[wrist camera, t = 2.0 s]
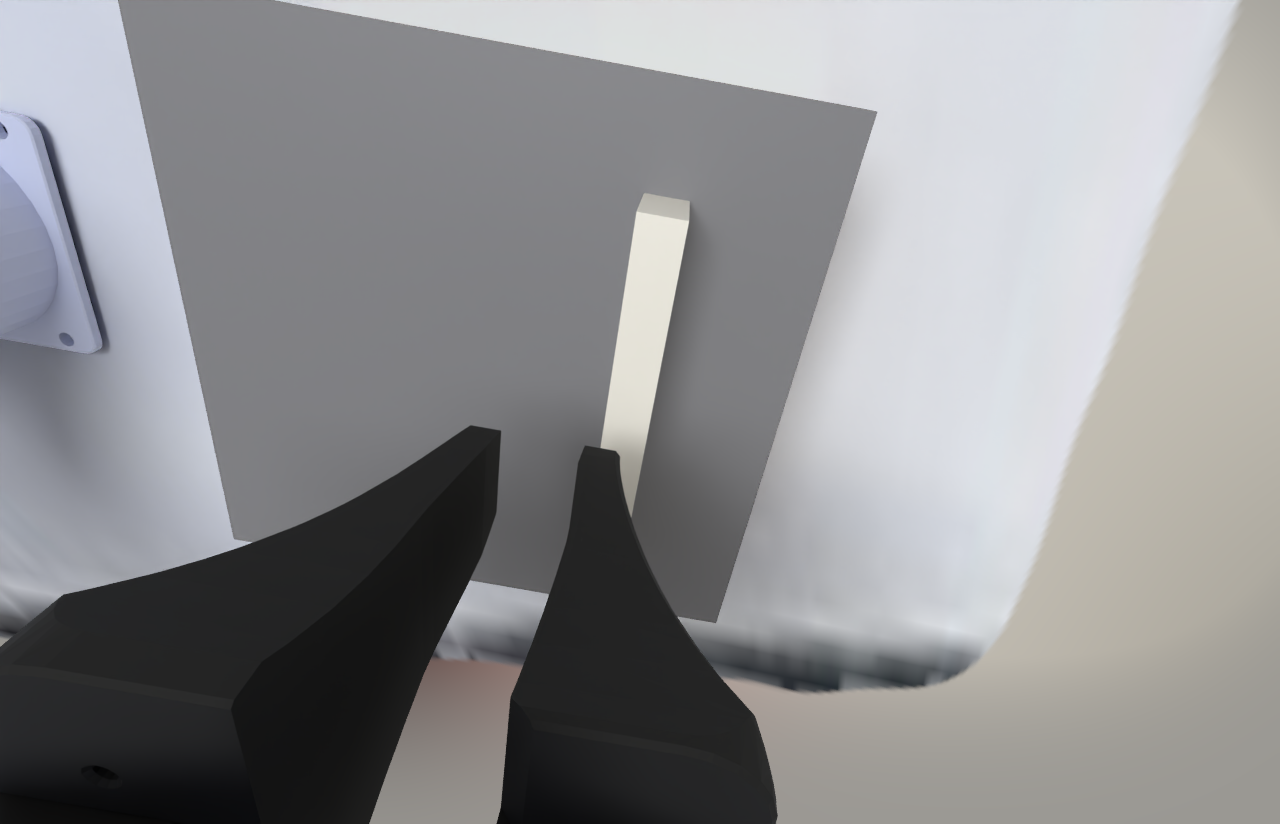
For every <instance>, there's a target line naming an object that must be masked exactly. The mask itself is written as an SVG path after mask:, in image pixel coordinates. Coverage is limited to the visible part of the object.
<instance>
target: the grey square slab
mask: <svg viewBox="0 0 1280 824" xmlns="http://www.w3.org/2000/svg"><path fill="white" fill-rule="evenodd" d="M118 2H119V7H120V12H121V16H122V21H123V26H124V30H125V35H126V40H127V44H128V49H129V54H130V58H131V63H132V68H133V72H134V77H135V81H136V86H137V91H138V95H139V100H140V105H141V109H142V114H143V119H144V123H145V128H146V133H147V137H148V142H149V147H150V151H151V156H152V160H153V165H154V170H155V174H156V179H157V184H158V188H159V193H160V198H161V202H162V207H163V212H164V216H165V221H166V225H167V230H168V235H169V239H170V244H171V249H172V253H173V258H174V263H175V267H176V272H177V277H178V281H179V286H180V291H181V295H182V300H183V304H184V309H185V314H186V318H187V323H188V328H189V332H190V337H191V342H192V346H193V351H194V356H195V360H196V365H197V370H198V374H199V379H200V383H201V388H202V393H203V397H204V402H205V407H206V411H207V416H208V421H209V425H210V430H211V435H212V439H213V444H214V449H215V453H216V458H217V462H218V467H219V472H220V476H221V481H222V486H223V490H224V495H225V500H226V504H227V509H228V514H229V518H230V523H231V527H232V532H233V537H234V539H237V540H243V541H248V542H256V541H258V540H261V539H263V538H266V537H269V536H271V535H274V534H277V533H279V532H282V531H284V530H287V529H290V528H292V527H295V526H297V525H299V524H302V523H304V522H306V521H309V520H311V519H313V518H315V517H317V516H319V515H322V514H324V513H326V512H328V511H330V510H332V509H334V508H336V507H338V506H340V505H342V504H344V503H346V502H348V501H350V500H352V499H354V498H356V497H358V496H360V495H361V494H363V493H365V492H367V491H368V490H370V489H372V488H374V487H375V486H377V485H379V484H380V483H382V482H384V481H386V480H387V479H389V478H391V477H393V476H394V475H396V474H398V473H399V472H401V471H402V470H404V469H405V468H407V467H408V466H410V465H412V464H413V463H415V462H416V461H418V460H419V459H421V458H422V457H424V456H425V455H427V454H428V453H430V452H431V451H433V450H434V449H436V448H437V447H439V446H440V445H442V444H443V443H444V442H446V441H447V440H449V439H450V438H452V437H453V436H455V435H456V434H458V433H459V432H461V431H462V430H464V429H465V428H467V427H468V426H470V425H473V426H478V427H484V428H490V429H495V430H501V444H500V462H499V479H498V496H497V513H496V516H495V519H494V522H493V525H492V528H491V531H490V534H489V537H488V539H487V542H486V545H485V548H484V551H483V553H482V556H481V558H480V560H479V562H478V564H477V566H476V568H475V570H474V573H473V575H472V577H471V579H470V580H472V581H478V582H484V583H489V584H495V585H501V586H507V587H512V588H518V589H524V590H530V591H535V592H541V593H547V594H550V591H551V588H552V585H553V582H554V579H555V576H556V573H557V570H558V567H559V564H560V560H561V557H562V554H563V551H564V548H565V544H566V541H567V536H568V531H569V526H570V519H571V511H572V504H573V496H574V489H575V481H576V474H577V466H578V462H579V459H580V456H581V454H582V451H583V449H584V447H585V445H586V446H591V447H597V448H603V449H608V450H614V451H616V452H617V453H618V454H619V456H620V472H621V479H622V485H623V490H624V494H625V498H626V502H627V506H628V509H629V513H630V516H631V519H632V523H633V526H634V529H635V531H636V534H637V537H638V540H639V542H640V545H641V547H642V550H643V552H644V555H645V557H646V559H647V562H648V564H649V566H650V568H651V570H652V572H653V574H654V576H655V578H656V580H657V582H658V584H659V586H660V588H661V590H662V592H663V594H664V596H665V597H666V599H667V601H668V603H669V604H670V606H671V608H672V610H673V611H674V613H675V614H676V616H679V617H685V618H690V619H696V620H702V621H708V622H713V623H716V621H717V618H718V615H719V612H720V609H721V605H722V602H723V599H724V596H725V593H726V590H727V586H728V583H729V580H730V577H731V574H732V571H733V567H734V564H735V561H736V558H737V555H738V552H739V548H740V545H741V542H742V539H743V536H744V533H745V529H746V526H747V523H748V520H749V517H750V514H751V510H752V507H753V504H754V501H755V498H756V495H757V491H758V488H759V485H760V482H761V479H762V476H763V472H764V469H765V466H766V463H767V460H768V457H769V453H770V450H771V447H772V444H773V441H774V438H775V434H776V431H777V428H778V425H779V422H780V418H781V415H782V412H783V409H784V406H785V403H786V399H787V396H788V393H789V390H790V387H791V384H792V380H793V377H794V374H795V371H796V368H797V365H798V361H799V358H800V355H801V352H802V349H803V346H804V342H805V339H806V336H807V333H808V330H809V327H810V323H811V320H812V317H813V314H814V311H815V308H816V304H817V301H818V298H819V295H820V292H821V289H822V285H823V282H824V279H825V276H826V273H827V270H828V266H829V263H830V260H831V257H832V254H833V251H834V247H835V244H836V241H837V238H838V235H839V232H840V228H841V225H842V222H843V219H844V216H845V213H846V209H847V206H848V203H849V200H850V197H851V194H852V190H853V187H854V184H855V181H856V178H857V175H858V171H859V168H860V165H861V162H862V159H863V156H864V152H865V149H866V146H867V143H868V140H869V137H870V133H871V130H872V127H873V124H874V121H875V118H876V114H877V112H876V111H872V110H867V109H861V108H856V107H851V106H845V105H840V104H834V103H829V102H823V101H818V100H813V99H807V98H802V97H796V96H791V95H785V94H780V93H774V92H769V91H764V90H758V89H753V88H747V87H742V86H736V85H731V84H726V83H720V82H715V81H709V80H704V79H698V78H693V77H688V76H682V75H677V74H671V73H666V72H660V71H655V70H650V69H644V68H639V67H633V66H628V65H622V64H617V63H612V62H606V61H601V60H595V59H590V58H584V57H579V56H573V55H568V54H563V53H557V52H552V51H546V50H541V49H535V48H530V47H525V46H519V45H514V44H508V43H503V42H497V41H492V40H487V39H481V38H476V37H470V36H465V35H459V34H454V33H449V32H443V31H438V30H432V29H427V28H421V27H416V26H411V25H405V24H400V23H394V22H389V21H383V20H378V19H372V18H367V17H362V16H356V15H351V14H345V13H340V12H334V11H329V10H324V9H318V8H313V7H307V6H302V5H296V4H291V3H286V2H280V1H275V0H118Z"/></svg>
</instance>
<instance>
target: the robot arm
mask: <svg viewBox="0 0 1280 824" xmlns="http://www.w3.org/2000/svg"><path fill="white" fill-rule="evenodd" d="M3 125H4V126H5V128H6V129H7V131H8V134H7V133H6V132H5V130H4V129H3ZM70 336H71V337H72V338H73V339H72V338H71V337H70ZM0 339H4V340H10V341H16V342H21V343H27V344H32V345H38V346H44V347H49V348H55V349H61V350H66V351H72V352H78V353H83V354H91V353H93V352H95V351H97V350H99V349H101V347H102V339H101V335H100V332H99V328H98V325H97V321H96V318H95V315H94V311H93V308H92V304H91V301H90V297H89V294H88V291H87V287H86V284H85V280H84V277H83V274H82V270H81V267H80V263H79V260H78V256H77V253H76V250H75V246H74V243H73V239H72V236H71V233H70V229H69V226H68V222H67V219H66V215H65V212H64V209H63V205H62V202H61V198H60V195H59V191H58V188H57V185H56V181H55V178H54V174H53V171H52V168H51V164H50V161H49V157H48V154H47V150H46V147H45V144H44V140H43V137H42V134H41V131H40V129H39V128H38V126H37V125H36V124H35V123H34V121H32V120H31V119H30V118H28V117H27V116H24V115H21V114H17V113H11V112H6V111H0ZM500 444H501V430H495V429H490V428H484V427H478V426H473V425H470V426H468V427H467V428H465V429H464V430H462V431H461V432H459V433H458V434H456V435H455V436H453V437H452V438H450V439H449V440H447V441H446V442H444V443H443V444H442V445H440V446H439V447H437V448H436V449H434V450H433V451H431V452H430V453H428V454H427V455H425V456H424V457H422V458H421V459H419V460H418V461H416V462H415V463H413V464H412V465H410V466H408V467H407V468H405V469H404V470H402V471H401V472H399V473H398V474H396V475H394V476H393V477H391V478H389V479H387V480H386V481H384V482H382V483H380V484H379V485H377V486H375V487H374V488H372V489H370V490H368V491H367V492H365V493H363V494H361V495H360V496H358V497H356V498H354V499H352V500H350V501H348V502H346V503H344V504H342V505H340V506H338V507H336V508H334V509H332V510H330V511H328V512H326V513H324V514H322V515H319V516H317V517H315V518H313V519H311V520H309V521H306V522H304V523H302V524H299V525H297V526H295V527H292V528H290V529H287V530H284V531H282V532H279V533H277V534H274V535H271V536H269V537H266V538H263V539H261V540H258V541H256V542H253V543H250V544H248V545H245V546H243V547H240V548H237V549H234V550H231V551H228V552H225V553H222V554H219V555H216V556H212V557H209V558H206V559H203V560H200V561H196V562H193V563H189V564H186V565H183V566H179V567H176V568H173V569H169V570H165V571H162V572H158V573H154V574H150V575H146V576H142V577H138V578H134V579H130V580H125V581H121V582H117V583H113V584H109V585H104V586H100V587H96V588H92V589H88V590H83V591H79V592H74V593H69V594H64V595H63V596H61V597H60V598H59V599H58V600H56V601H55V602H54V603H52V604H51V605H50V606H49V607H48V608H46V609H45V610H44V611H43V612H42V613H40V614H39V615H38V616H37V617H36V618H34V619H33V620H32V621H31V622H30V623H28V624H27V625H26V626H25V627H24V628H22V629H21V630H20V631H19V632H18V633H16V634H15V635H14V636H13V637H12V638H10V639H9V640H8V641H7V642H6V643H4V644H3V645H2V646H1V647H0V824H369V822H370V819H371V817H372V814H373V811H374V808H375V805H376V802H377V799H378V796H379V794H380V791H381V788H382V785H383V782H384V779H385V776H386V774H387V771H388V768H389V765H390V763H391V760H392V757H393V754H394V752H395V749H396V746H397V744H398V741H399V738H400V735H401V732H402V730H403V727H404V724H405V722H406V719H407V716H408V714H409V711H410V709H411V706H412V703H413V701H414V698H415V696H416V693H417V690H418V688H419V685H420V682H421V680H422V677H423V674H424V672H425V670H426V668H427V666H428V663H429V661H430V659H431V657H432V655H433V652H434V650H435V648H436V646H437V644H438V642H439V640H440V638H441V636H442V634H443V632H444V630H445V628H446V626H447V624H448V622H449V620H450V618H451V616H452V614H453V612H454V610H455V609H456V607H457V605H458V603H459V601H460V599H461V597H462V595H463V593H464V591H465V589H466V587H467V585H468V583H469V581H470V579H471V577H472V575H473V573H474V570H475V568H476V566H477V564H478V562H479V560H480V558H481V556H482V553H483V551H484V548H485V545H486V542H487V539H488V537H489V534H490V531H491V528H492V525H493V522H494V519H495V516H496V513H497V496H498V479H499V462H500ZM777 816H778V815H777V807H776V796H775V790H774V784H773V780H772V775H771V770H770V766H769V762H768V759H767V755H766V751H765V747H764V743H763V740H762V737H761V734H760V731H759V727H758V724H757V721H756V718H755V716H754V715H753V713H752V712H751V711H750V710H749V709H748V708H747V707H746V706H745V704H744V703H743V702H742V701H741V700H740V699H739V698H738V697H737V696H736V694H735V693H734V692H733V691H732V690H731V689H730V688H729V687H728V686H727V684H726V683H725V682H724V681H723V680H722V679H721V678H720V676H719V675H718V674H717V673H716V671H715V670H714V669H713V667H712V666H711V665H710V664H709V662H708V661H707V660H706V658H705V657H704V656H703V654H702V653H701V652H700V650H699V649H698V648H697V646H696V645H695V643H694V642H693V640H692V639H691V637H690V636H689V634H688V633H687V631H686V630H685V628H684V627H683V625H682V624H681V622H680V621H679V619H678V618H677V616H676V614H675V613H674V611H673V610H672V608H671V606H670V604H669V603H668V601H667V599H666V597H665V596H664V594H663V592H662V590H661V588H660V586H659V584H658V582H657V580H656V578H655V576H654V574H653V572H652V570H651V568H650V566H649V564H648V562H647V559H646V557H645V555H644V552H643V550H642V547H641V545H640V542H639V540H638V537H637V534H636V531H635V529H634V526H633V523H632V519H631V516H630V513H629V509H628V506H627V502H626V498H625V494H624V490H623V485H622V479H621V472H620V456H619V454H618V453H617V452H616V451H614V450H608V449H603V448H597V447H591V446H586V445H585V447H584V449H583V451H582V454H581V456H580V459H579V462H578V466H577V474H576V481H575V489H574V496H573V504H572V511H571V519H570V526H569V531H568V536H567V541H566V544H565V548H564V551H563V554H562V557H561V560H560V564H559V567H558V570H557V573H556V576H555V579H554V582H553V585H552V588H551V591H550V594H549V597H548V600H547V603H546V606H545V609H544V612H543V615H542V617H541V620H540V623H539V626H538V629H537V631H536V634H535V637H534V640H533V642H532V645H531V648H530V650H529V653H528V655H527V658H526V660H525V663H524V665H523V668H522V670H521V673H520V676H519V678H518V681H517V683H516V686H515V688H514V690H513V693H512V695H511V699H510V710H509V722H508V734H507V745H506V756H505V767H504V778H503V791H502V801H501V809H500V813H499V817H498V820H497V824H776V820H777Z"/></svg>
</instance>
